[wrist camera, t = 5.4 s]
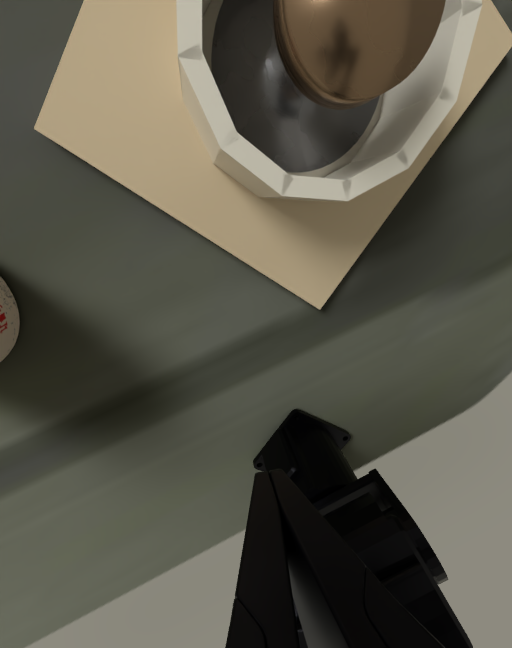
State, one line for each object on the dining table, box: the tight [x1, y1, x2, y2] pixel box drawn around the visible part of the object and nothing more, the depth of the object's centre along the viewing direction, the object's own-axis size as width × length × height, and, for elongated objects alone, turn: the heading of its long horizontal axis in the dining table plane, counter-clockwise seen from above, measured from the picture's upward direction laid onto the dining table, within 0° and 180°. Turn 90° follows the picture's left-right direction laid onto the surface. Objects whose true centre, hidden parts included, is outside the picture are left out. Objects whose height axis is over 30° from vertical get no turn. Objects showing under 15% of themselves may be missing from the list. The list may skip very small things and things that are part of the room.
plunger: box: [211, 0, 446, 173], centre depth 11 cm, size 8×8×6 cm
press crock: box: [34, 0, 512, 310], centre depth 13 cm, size 18×18×6 cm
